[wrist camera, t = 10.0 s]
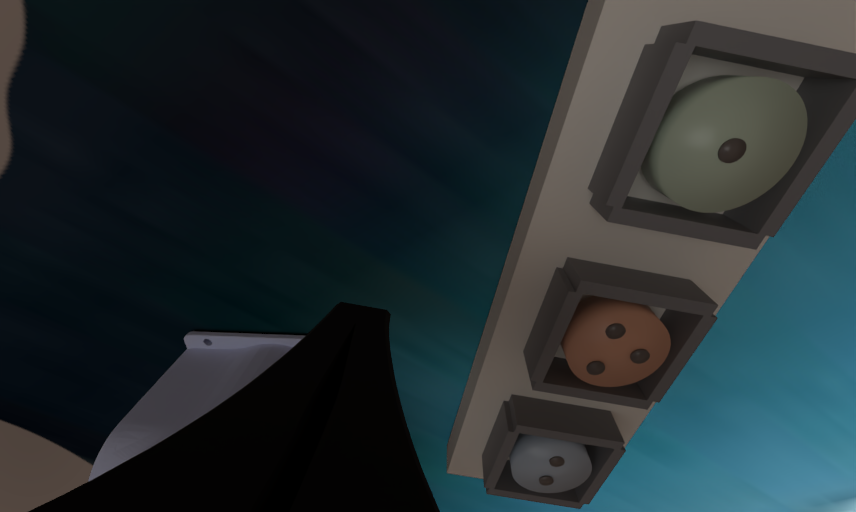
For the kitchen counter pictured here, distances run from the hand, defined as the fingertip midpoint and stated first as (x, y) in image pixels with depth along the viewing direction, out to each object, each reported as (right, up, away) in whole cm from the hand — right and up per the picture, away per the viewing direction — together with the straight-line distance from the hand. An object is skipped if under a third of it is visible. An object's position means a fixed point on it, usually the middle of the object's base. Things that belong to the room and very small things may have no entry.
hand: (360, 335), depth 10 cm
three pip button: (+10, -1, +8) cm, 13 cm away
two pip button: (+9, -9, +12) cm, 18 cm away
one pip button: (+12, +6, +4) cm, 14 cm away
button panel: (+11, 0, +10) cm, 15 cm away
